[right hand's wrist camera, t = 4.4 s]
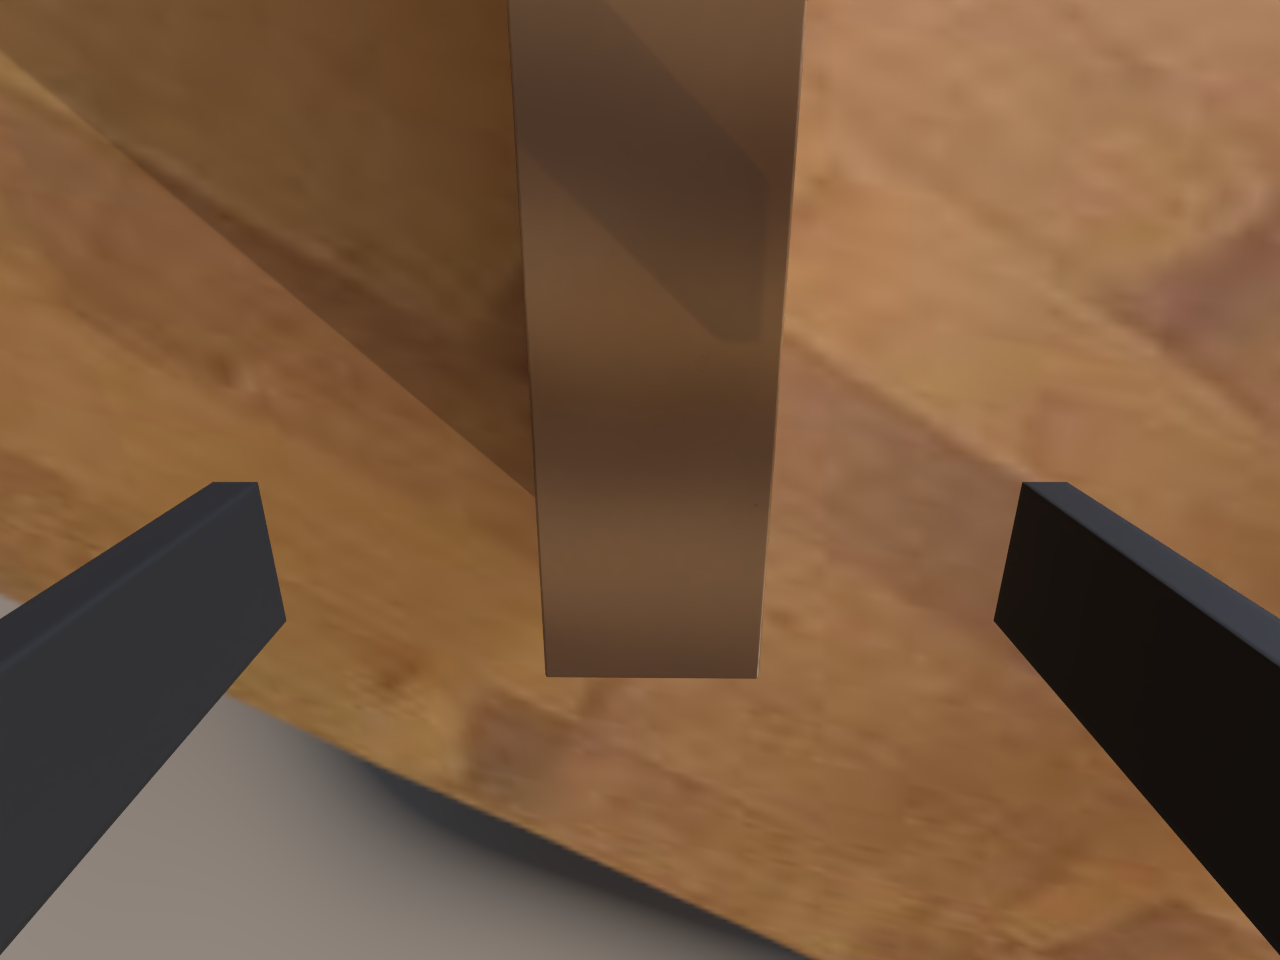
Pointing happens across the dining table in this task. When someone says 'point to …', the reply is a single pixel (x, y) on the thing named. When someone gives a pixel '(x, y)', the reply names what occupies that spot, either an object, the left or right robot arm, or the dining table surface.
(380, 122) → the dining table surface
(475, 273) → the dining table surface
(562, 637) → the post
